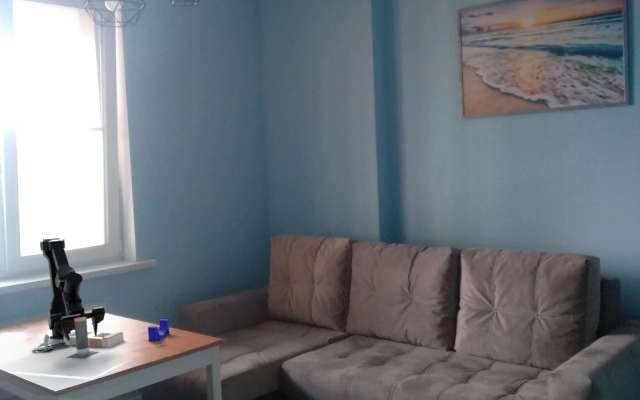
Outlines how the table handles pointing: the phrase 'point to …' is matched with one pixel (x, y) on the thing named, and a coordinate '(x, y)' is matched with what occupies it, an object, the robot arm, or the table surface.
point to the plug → (81, 336)
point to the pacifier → (45, 344)
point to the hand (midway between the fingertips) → (82, 337)
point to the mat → (82, 356)
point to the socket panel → (98, 338)
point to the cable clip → (159, 330)
